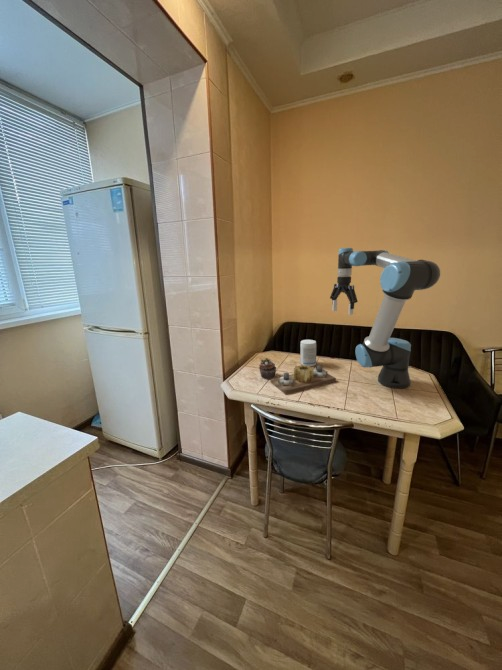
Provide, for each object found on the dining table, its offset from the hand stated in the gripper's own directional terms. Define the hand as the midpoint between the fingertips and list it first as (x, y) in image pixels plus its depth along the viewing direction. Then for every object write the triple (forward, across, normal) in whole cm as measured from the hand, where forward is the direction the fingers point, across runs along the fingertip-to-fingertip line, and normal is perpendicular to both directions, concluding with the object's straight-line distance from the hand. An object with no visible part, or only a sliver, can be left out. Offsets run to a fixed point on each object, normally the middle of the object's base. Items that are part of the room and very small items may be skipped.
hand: (342, 312), depth 166 cm
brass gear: (+30, +12, -36) cm, 48 cm away
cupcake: (+32, -4, -48) cm, 58 cm away
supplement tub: (+32, -7, -18) cm, 38 cm away
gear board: (+32, +12, -36) cm, 49 cm away
